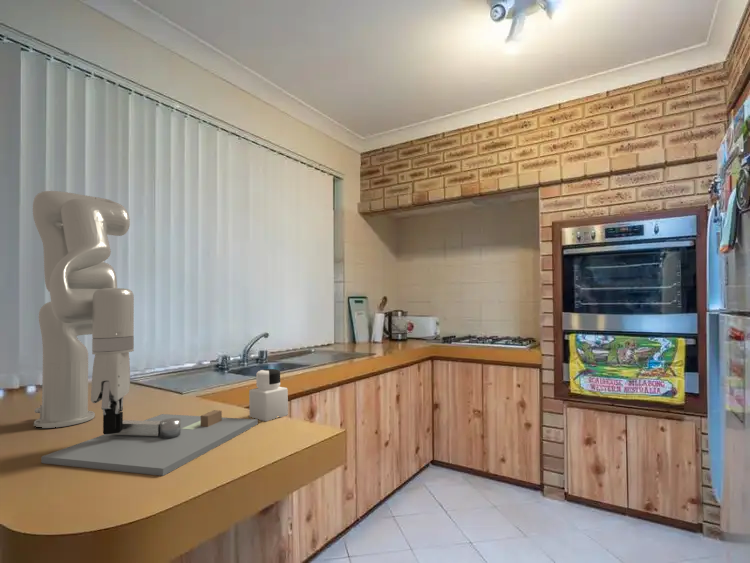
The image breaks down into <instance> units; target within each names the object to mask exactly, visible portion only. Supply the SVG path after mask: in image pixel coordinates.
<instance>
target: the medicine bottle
mask: <svg viewBox="0 0 750 563" xmlns="http://www.w3.org/2000/svg"><path fill="white" fill-rule="evenodd" d="M255 376H256V385H255V386H256V388H252V389H249V390H248V391H249V393H248V394H249V395H248V396H249V397H248V398H249V410H248V411H249V418H251V417H252V418H251V419H254V418H255V419H259V420H258V421H263V422H270V421H273V420H276V419H275V418H277V419H279V418H278V417H277V416H279V417H280V418H284V417H286V416H288V415H289V399H288V396H289V395H288V392H289V390H288V389H289V388H288V387H284V386H281V371H280V369H279V370H278V369H276V368H266V369H265V368H264V369H260V370H258V371H257V372H256V374H255ZM272 419H273V420H272ZM269 420H270V421H269Z"/></svg>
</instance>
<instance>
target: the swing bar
mask: <svg viewBox="0 0 750 563" xmlns="http://www.w3.org/2000/svg"><path fill="white" fill-rule="evenodd" d="M180 434H181V419H179V418H170V419H165V420H162V421H144V420H132V419H131V420H128V419H123V430H122V431H121V432H120V433H114V434H109V435H142V436H159V435H160V437H161V438H171V437H175V436H178V435H180Z"/></svg>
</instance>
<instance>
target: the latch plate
mask: <svg viewBox="0 0 750 563" xmlns="http://www.w3.org/2000/svg"><path fill="white" fill-rule="evenodd" d="M222 413H223V412H222V410H218V409H217V410H216V409H215V410H211V411H209V412H207V413H204V414H202V415H187V414H186V415H185V414H168V413H166V414H164V413H161V414H158V415H156V416H153V417H150V418H147V419H145V420H143V421H162V420H165V419H170V418H179V419H181V434H180V435H178V436H175V437H171V438H161V437H160V435H159V436H142V435H109V434H101V435H98V436H95V437H93V438H90V439H88V440H85V441H83V442H82V441H81V442H79V443H77V444H74V445H69V446H67V447H64V448H61V449H59V450H57V451H54V452H51V453H49V454H44V455H42V456H41V459H40V460H41V464H46V465H56V466H57V465H58V466H67V467H76V468H85V469H87V468H88V469H95V470H96V469H97V470H104V471H115V472H124V473H133V474H143V475H152V476H160V477H161V476H165V475H168V474H169V473H171V472H173V471H174V470H176V469H179V468H180V467H182V466H184V465H186V464H188V463H189V462H191V461H193V460H195V459H196V458H199V457H200V456H202V455H204V454H206V453H208V452H210V451H211V450H213V449H215V448H217V447H219V446H220V445H223V444H224V443H227V442H228V441H230V440H232V439H234V438H235V437H237V436H239V435H241V434H243V433H245V432H247V431H249V430H250V429H252V428H254V427H256V426H257V424H258V421H259V420H258V419H254V418H241V417H240V418H237V417H223V416H222V415H223V414H222ZM255 425H256V426H255ZM253 426H254V427H253ZM251 427H252V428H251ZM246 430H247V431H246Z"/></svg>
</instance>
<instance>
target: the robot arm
mask: <svg viewBox="0 0 750 563" xmlns="http://www.w3.org/2000/svg"><path fill="white" fill-rule="evenodd" d="M32 217H33V221H34V225H35V227H36V229H37V232H38V234H39V237H40V240H41V242H42V246H43V268H44V269H43V272H44V283H45V287H46V290H47V291H48V292H49V295H50V296H49V297H50V301H48V302H47V303H44V304H43V305H42V306H40V309H39V312H38V323H39V328H40V334H41V341H42V342H41V344H42V382H41V384H42V387H41V388H42V389H41V391H42V393H41V395H42V396H41V399H42V400H41V405H40V406H39V407H36V408H35V409H34V413H35V414H39V415H40V416H39V418H36V420H34V421H33V427H34V426H36V427H42V428H41V429H53V428H55V427H56V428H61V427H63V428H64V427H69V426H73V425H79V424H82V423H85V422H89V421H90V420H93V419H94V418H95V416H96V415H95V414H96V413H95V412H94V411H93V410H88V409H89V352H88V348H87V347H86V346H85V344H83V343H82V341H81V340H79V338H78V337H79V336H85V335H86V336H87V335H88V336H89V335H92V339H91V342H92V343H91V350H92V352H91V353H92V355H94V359H93V366H92V376H91V391H90V401H91V403H93V404H97V403H99V402H101V410H102V415H103V417H102V433H103V434H102V435H104V434H114V433H120V432H121V431H122V430H123V420H124V419H123V418H124V413H123V409H124V397H125V396H126V395H127V394H128V393H129V392H130V386H131V369H130V368H131V366H130V363H131V362H130V360H131V359H130V353H131V352H134V351H135V349H134V347H135V341H134V340H135V339H134V338H135V337H134V336H135V335H134V329H135V328H134V327H135V326H134V324H135V323H134V322H135V321H134V317H135V314H134V312H135V310H134V307H135V302H134V300H135V299H134V297H135V295H134V293H133V291H132V290H131V289H129V288H120V287H119V288H118V280H117V274H116V273H117V272H116V271H115V269H114V267H113V266H112V265H111V264H109V263H108V262H105V261H107V260H108V259H109V258H110V256H111V252H112V251H111V250H112V249H111V246H110V242H109V238H108V236H116V237H122V236H125V235H126V234H127V233H128V231H129V229H130V225H131V222H130V220H131V219H130V216H129V212H128V211H127V209H126V208H125V206H123V205H122V204H121V203H118V202H116V201H114V200H111V199H107V198H103V197H97V196H91V195H85V194H79V193H73V192H67V191H60V190H59V191H58V190H45V191H41V192H39V193H37V194H36V195H35V197H34V198H33V202H32ZM36 427H35V428H36Z"/></svg>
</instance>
